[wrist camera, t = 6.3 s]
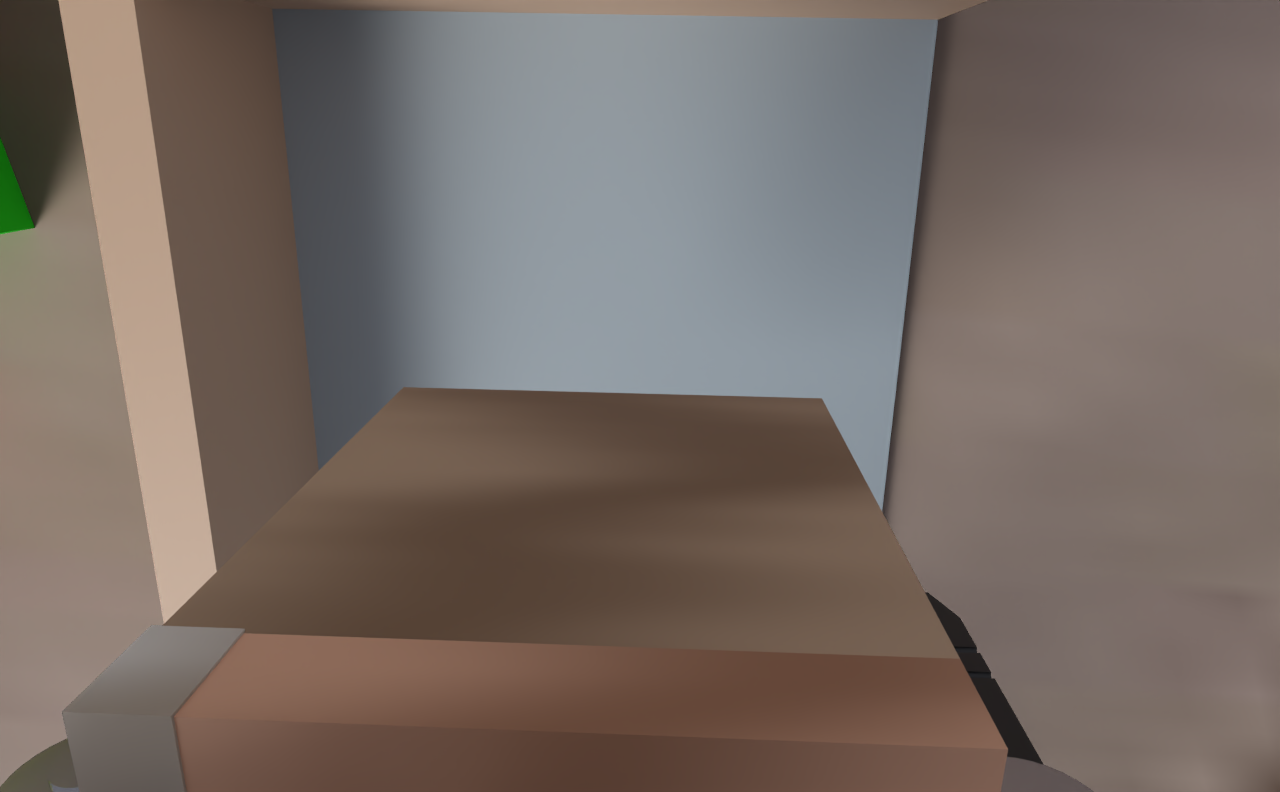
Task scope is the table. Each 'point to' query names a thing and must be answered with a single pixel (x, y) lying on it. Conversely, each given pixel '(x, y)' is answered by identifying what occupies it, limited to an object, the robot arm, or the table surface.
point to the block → (555, 618)
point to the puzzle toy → (11, 199)
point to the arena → (486, 219)
